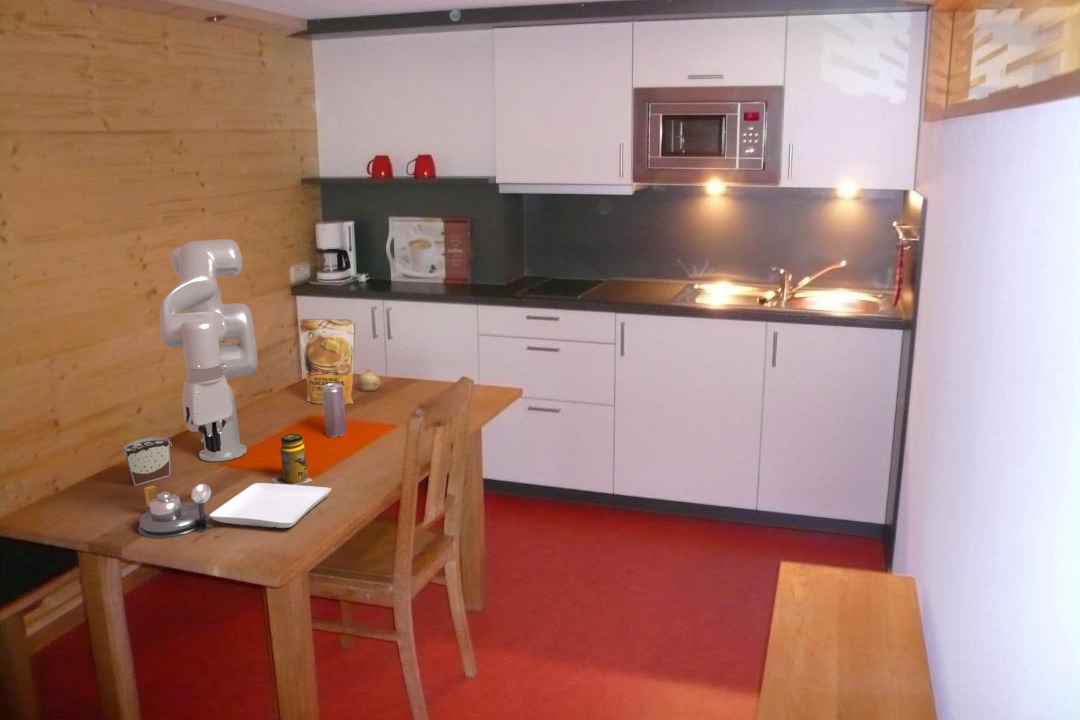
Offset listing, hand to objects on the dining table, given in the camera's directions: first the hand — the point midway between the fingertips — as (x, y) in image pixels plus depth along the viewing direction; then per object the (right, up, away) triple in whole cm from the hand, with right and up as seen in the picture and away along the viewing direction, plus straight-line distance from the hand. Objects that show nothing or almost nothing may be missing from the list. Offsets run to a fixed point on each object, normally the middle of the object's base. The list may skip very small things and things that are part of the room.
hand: (214, 450), depth 210 cm
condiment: (+11, -11, +26) cm, 31 cm away
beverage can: (+14, -2, +62) cm, 64 cm away
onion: (+16, +10, +108) cm, 110 cm away
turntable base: (-10, -17, +2) cm, 20 cm away
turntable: (-11, -16, +3) cm, 20 cm away
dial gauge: (-2, -18, -1) cm, 18 cm away
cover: (-11, -15, 0) cm, 19 cm away
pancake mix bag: (+5, +7, +95) cm, 95 cm away
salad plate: (+12, -16, +7) cm, 21 cm away
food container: (-29, -11, +31) cm, 44 cm away
